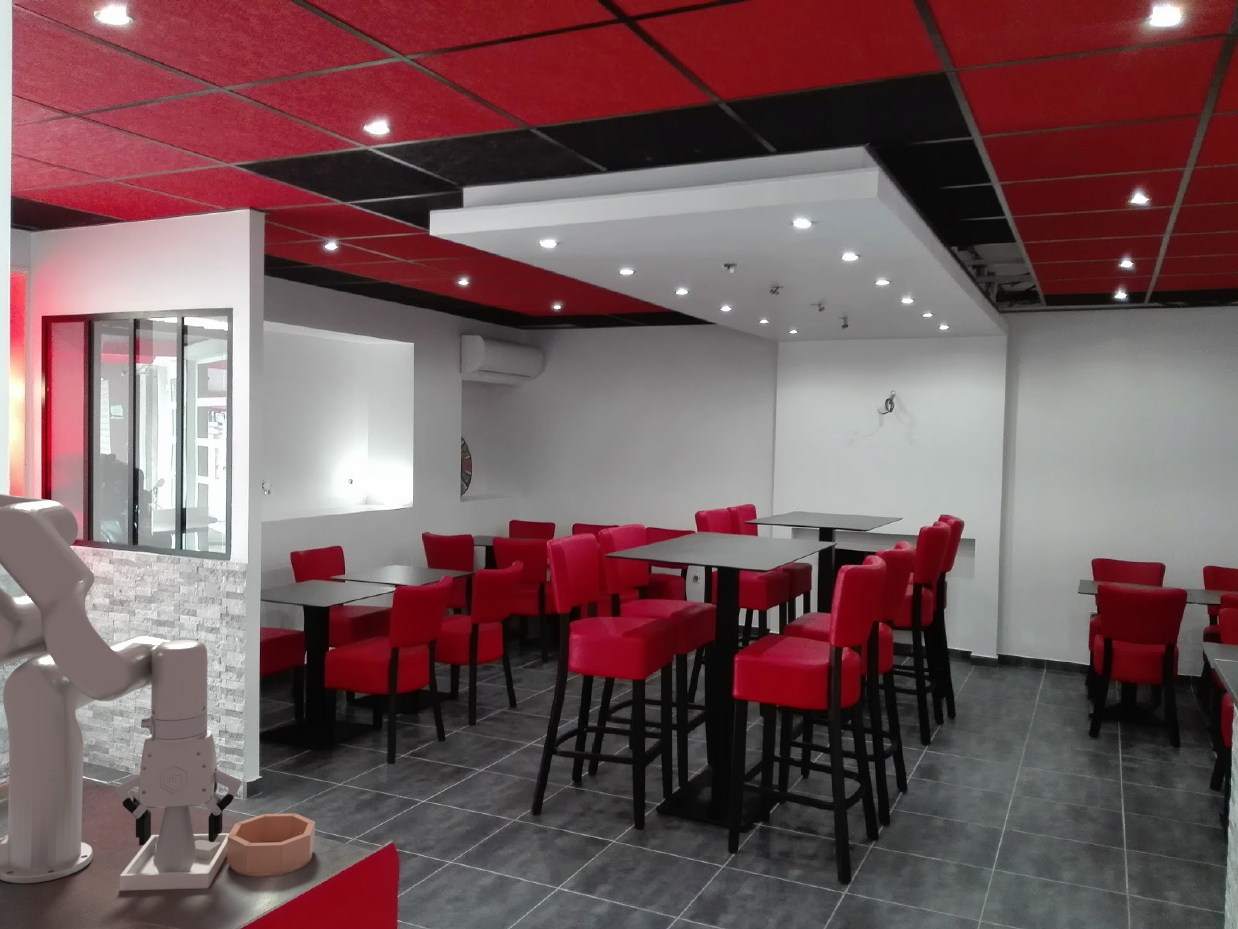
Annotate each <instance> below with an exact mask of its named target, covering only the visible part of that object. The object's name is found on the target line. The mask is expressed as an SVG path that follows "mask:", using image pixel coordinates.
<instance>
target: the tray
mask: <svg viewBox="0 0 1238 929" xmlns="http://www.w3.org/2000/svg"><path fill="white" fill-rule="evenodd" d="M229 833H230V832H229ZM229 833H223V832H221V834H218V836H217V838H216V839H215V841H214V842H221V846H220V848H219V850H218V851H217V853H216V855H215V856H214V858H212V859H211V860H210V861H207V860H200V859H195V861H194V863H193V865H192V868H191V870H190V871H189V872H172V873H159V872H158V870H157V868H156V866H155V865H154V861H153V859H154V855H155V844H156V843H157V842H158V838H159V834H151V837H150V839H149V840H148V841H147V842H146V844H144V845H142V847H141V848H140V850H139V851H138V852H137V854H135V855H134V857H133V858H132V860H131V861H130V862H129V863H128V864H127V866H126V867H125V869H124V870H123V871H122V872H121V873H120V875H119V891H120V892H121V891H124V892H125V891H147V890H148V891H151V890H152V891H153V890H159V891H160V890H182V889H183V890H184V889H185V890H186V889H188V890H190V889H209V887H210V886H211V884H212V883H213V880H214V878H216V875H217V873H218V872H219V869H220V868H221V866H222V864H224V862H225V859H227V841H228V835H229ZM193 834H194V840H195V841H197V840H206V841H209V840H208V833H193Z"/></svg>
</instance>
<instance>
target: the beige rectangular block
mask: <svg viewBox="0 0 1238 929" xmlns="http://www.w3.org/2000/svg"><path fill="white" fill-rule="evenodd" d="M220 846H221V842H210V841H206V840H197V841H195V847H196V853H197V854H196V858H195V859H200V860H207V861H210V860H211V859H212V858H214V856H215V855H216V853H217V851H218V850H219V848H220Z"/></svg>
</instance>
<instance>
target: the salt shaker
mask: <svg viewBox="0 0 1238 929" xmlns="http://www.w3.org/2000/svg"><path fill="white" fill-rule="evenodd" d="M190 810H191V809H190V806H188V807H164V811H163V818H162V821H161V826H160V830H159V834H158V835H159V838H158V842H157V846H156V851H155V855H154V859H153V861H154V865H155V866H156V868H157V870H158V872H159V873H172V872H189V871H190V870H191V868H192V865H193V863H194V861H195V858H196V854H197V853H196V847H195V840H194V834H195V833H194V830H193V823H192V817H191V816H192V815H191V811H190Z"/></svg>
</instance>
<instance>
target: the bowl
mask: <svg viewBox="0 0 1238 929" xmlns="http://www.w3.org/2000/svg"><path fill="white" fill-rule="evenodd" d="M300 832H301V833H300ZM315 834H316V821H314V820H313V819H310V818H308V817H305V816H304V815H301V814H298V813H296V812H295V813H293V812H292V813H290V812H289V813H263V814H260V815H257V816H253V817H250V818H248V819H244V820H241V821H238V822H236V823H234V825H233V826H232V829H231V830H230V832H229V835H228V841H227V856H226V863H227V864H228V865H229V867H230V869H231V870H232V872H234V873H236V874H238V875H241V876H244V877H245V876H246V877H252V878H253V877H254V878H268V877H270V878H271V877H277V876H283V875H287V874H290V873H293V872H295V871H298V870H301V869H302V868H304V867H305V866H307V865H308V864H309V863H310V862H311V860H312V859H313V852H314V848H315V839H316V838H315V836H316V835H315Z"/></svg>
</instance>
